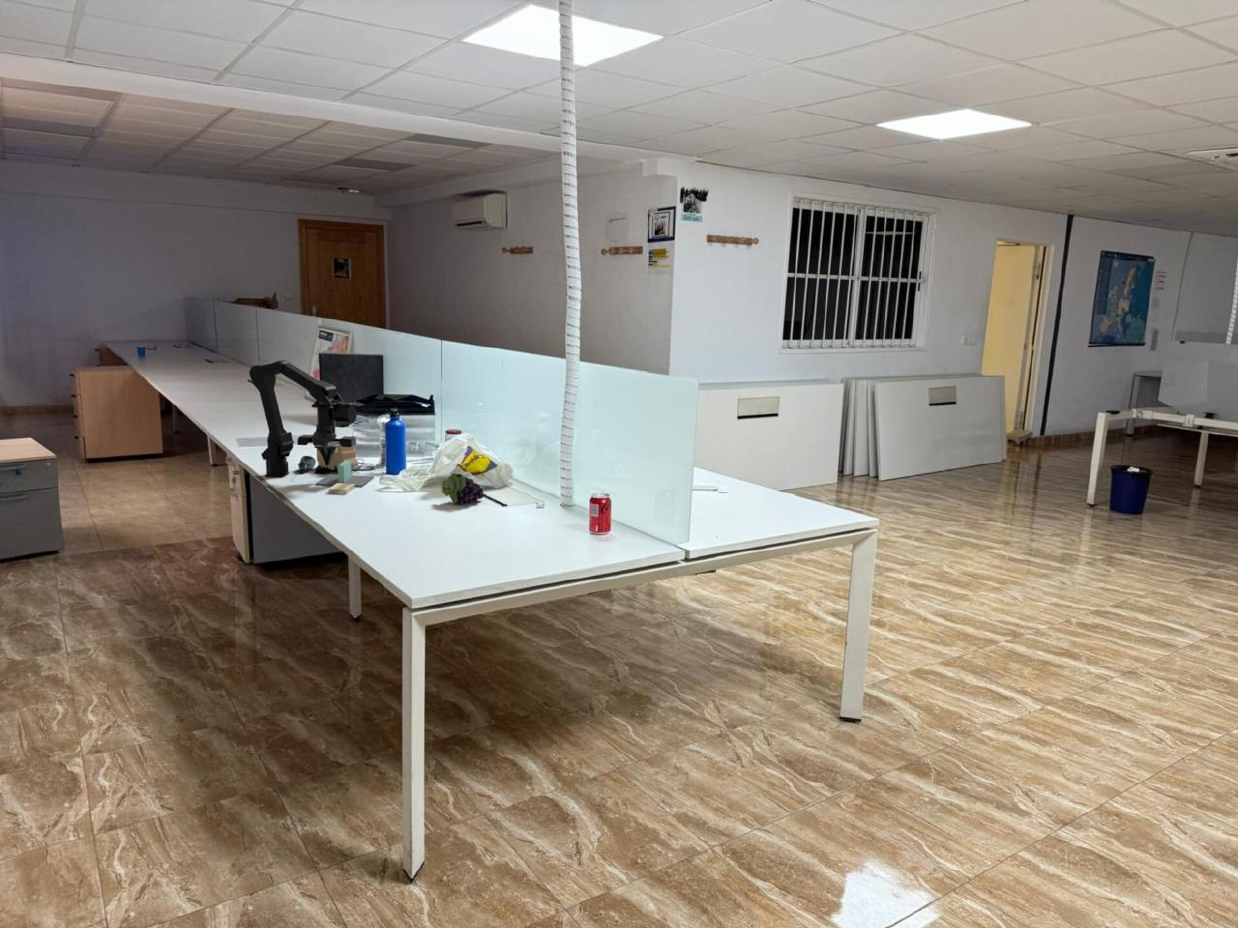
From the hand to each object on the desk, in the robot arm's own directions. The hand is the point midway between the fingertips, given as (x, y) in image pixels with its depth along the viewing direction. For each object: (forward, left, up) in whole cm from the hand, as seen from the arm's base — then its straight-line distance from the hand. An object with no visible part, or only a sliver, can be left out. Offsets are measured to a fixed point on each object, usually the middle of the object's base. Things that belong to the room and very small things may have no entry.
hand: (327, 465), depth 303 cm
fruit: (+51, -21, -6) cm, 56 cm away
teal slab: (+6, 0, -5) cm, 8 cm away
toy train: (-3, +18, -6) cm, 19 cm away
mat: (+6, 0, -6) cm, 8 cm away
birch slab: (+9, -13, -6) cm, 17 cm away
